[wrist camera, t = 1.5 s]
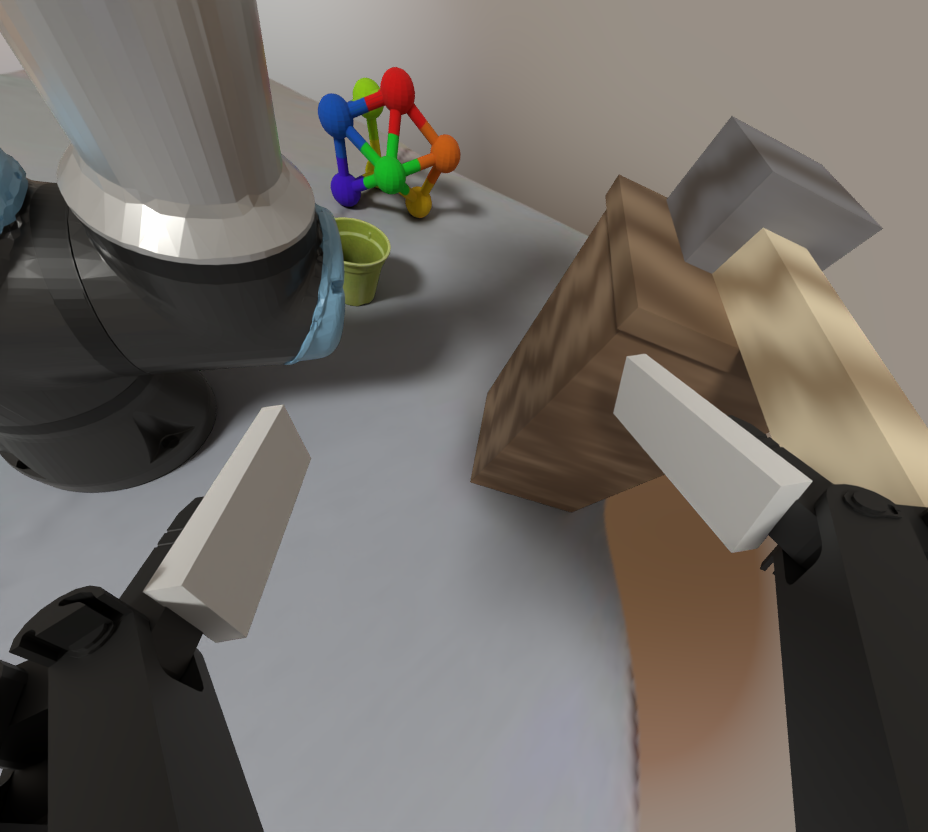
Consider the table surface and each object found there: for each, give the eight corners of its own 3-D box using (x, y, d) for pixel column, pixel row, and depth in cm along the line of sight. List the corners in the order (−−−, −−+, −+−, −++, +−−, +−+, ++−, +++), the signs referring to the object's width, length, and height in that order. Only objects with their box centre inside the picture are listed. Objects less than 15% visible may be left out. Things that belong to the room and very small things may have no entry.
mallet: (666, 199, 24) (731, 115, 20) (743, 236, 25) (821, 164, 21) (806, 667, 9) (1185, 723, 5) (983, 712, 10) (1421, 790, 6)
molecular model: (453, 222, 65) (478, 93, 48) (406, 259, 58) (416, 121, 41) (369, 170, 67) (363, 27, 50) (313, 199, 60) (284, 42, 42)
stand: (484, 389, 48) (618, 174, 24) (575, 420, 50) (782, 252, 26) (465, 484, 40) (638, 307, 16) (574, 517, 42) (872, 404, 18)
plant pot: (378, 322, 48) (382, 273, 41) (311, 304, 46) (303, 249, 39) (390, 282, 53) (396, 231, 46) (331, 264, 51) (327, 208, 44)
